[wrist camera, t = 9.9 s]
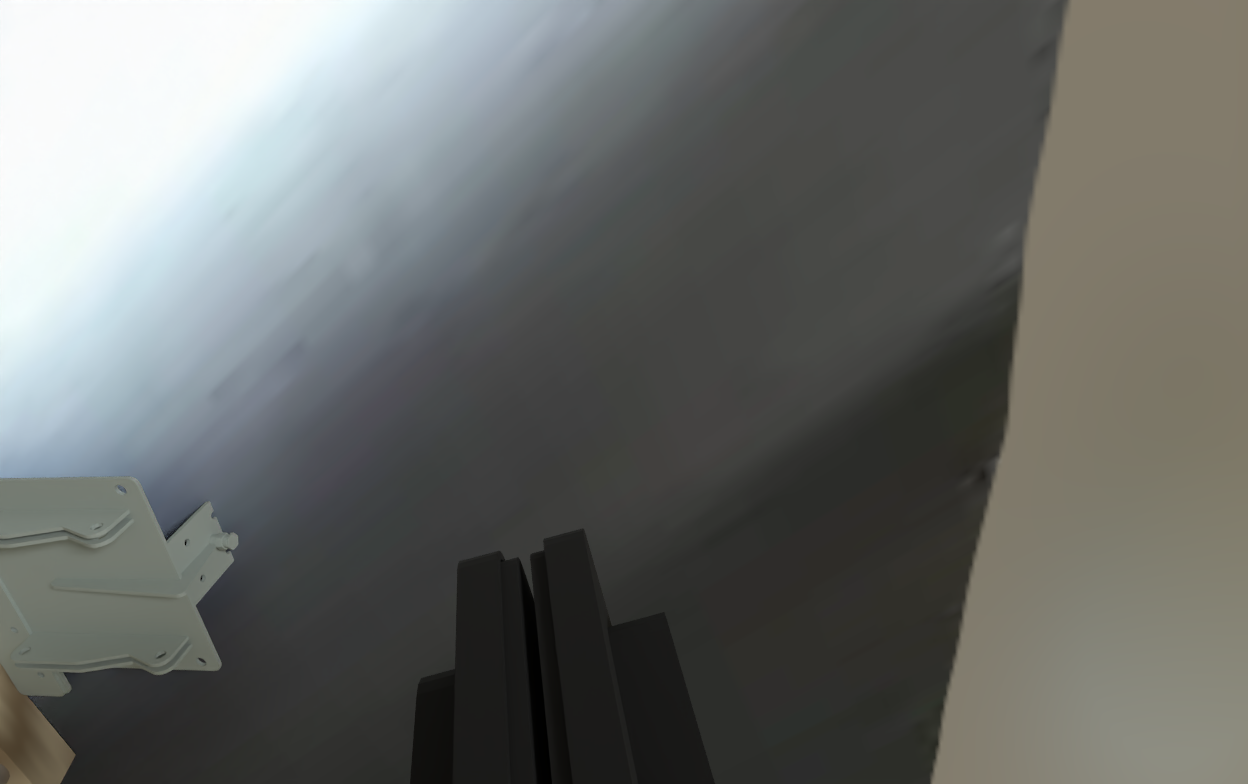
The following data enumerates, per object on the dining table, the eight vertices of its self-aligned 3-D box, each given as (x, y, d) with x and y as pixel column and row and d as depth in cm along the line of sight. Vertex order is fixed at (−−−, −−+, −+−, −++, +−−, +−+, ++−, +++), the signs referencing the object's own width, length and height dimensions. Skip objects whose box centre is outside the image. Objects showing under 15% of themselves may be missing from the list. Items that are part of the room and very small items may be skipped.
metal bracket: (103, 461, 32) (229, 731, 39) (192, 391, 37) (291, 641, 44) (-196, 467, 35) (-28, 719, 41) (-74, 401, 40) (58, 635, 47)
